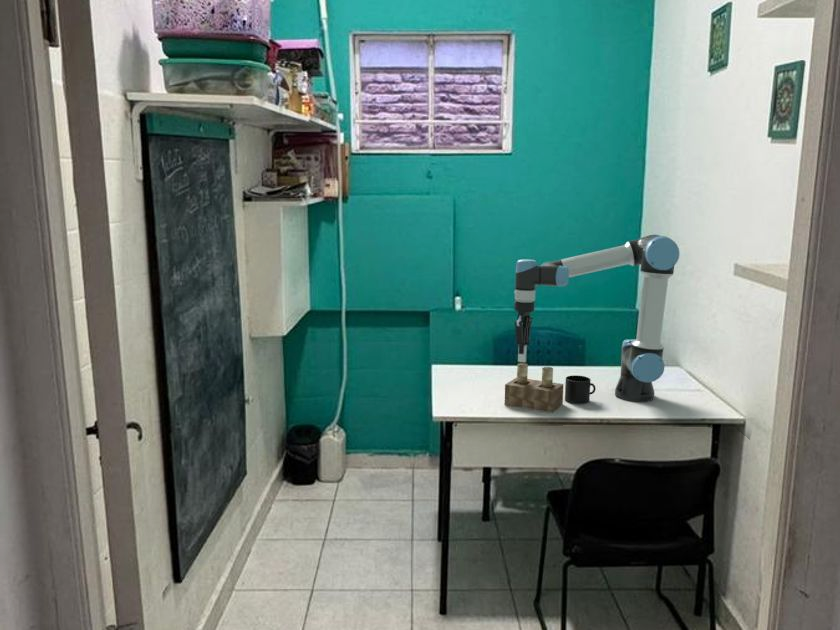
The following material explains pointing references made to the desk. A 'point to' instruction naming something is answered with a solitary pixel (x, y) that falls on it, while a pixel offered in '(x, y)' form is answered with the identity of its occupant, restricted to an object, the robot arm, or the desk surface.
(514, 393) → the walnut block
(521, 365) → the peg
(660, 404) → the desk surface
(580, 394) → the mug
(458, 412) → the desk surface
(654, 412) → the desk surface
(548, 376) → the peg
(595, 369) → the desk surface
